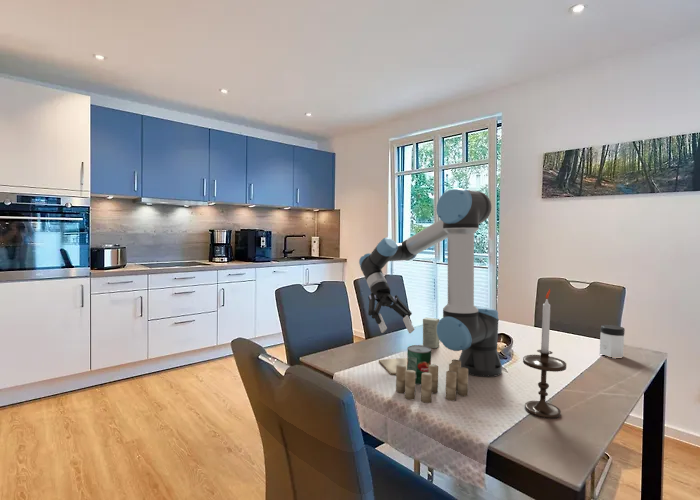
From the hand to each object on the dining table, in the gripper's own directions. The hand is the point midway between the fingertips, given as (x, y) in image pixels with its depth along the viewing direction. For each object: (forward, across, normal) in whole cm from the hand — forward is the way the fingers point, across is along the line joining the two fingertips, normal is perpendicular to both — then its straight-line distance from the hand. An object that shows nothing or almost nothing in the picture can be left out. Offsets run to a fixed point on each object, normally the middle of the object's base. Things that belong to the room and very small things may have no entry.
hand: (398, 331), depth 143 cm
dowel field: (+27, +4, +6) cm, 28 cm away
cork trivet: (+10, -3, -8) cm, 13 cm away
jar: (+27, -85, +26) cm, 93 cm away
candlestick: (+43, -13, +26) cm, 52 cm away
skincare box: (-2, -30, -14) cm, 33 cm away
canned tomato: (+20, +1, 0) cm, 20 cm away
